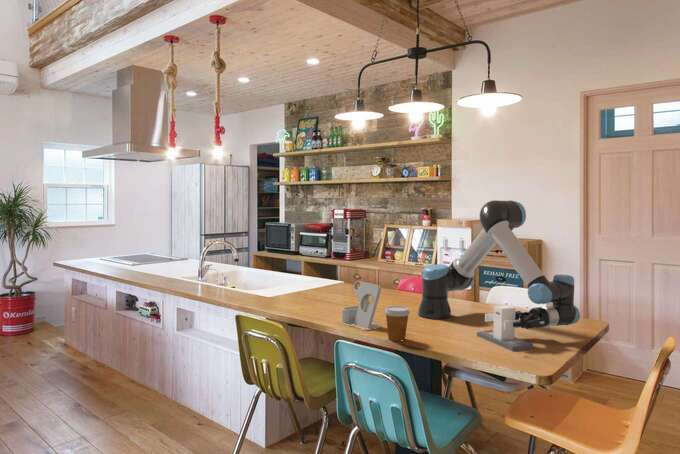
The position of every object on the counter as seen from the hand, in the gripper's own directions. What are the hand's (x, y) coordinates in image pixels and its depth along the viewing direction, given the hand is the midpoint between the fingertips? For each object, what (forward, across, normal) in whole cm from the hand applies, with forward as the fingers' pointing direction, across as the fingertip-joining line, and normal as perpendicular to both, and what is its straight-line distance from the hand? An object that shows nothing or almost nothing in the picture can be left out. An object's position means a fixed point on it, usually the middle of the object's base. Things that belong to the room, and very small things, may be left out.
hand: (494, 321), depth 177 cm
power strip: (-4, 0, -10) cm, 10 cm away
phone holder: (+34, +44, -10) cm, 57 cm away
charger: (-4, 0, -8) cm, 9 cm away
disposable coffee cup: (+30, +20, -10) cm, 37 cm away
